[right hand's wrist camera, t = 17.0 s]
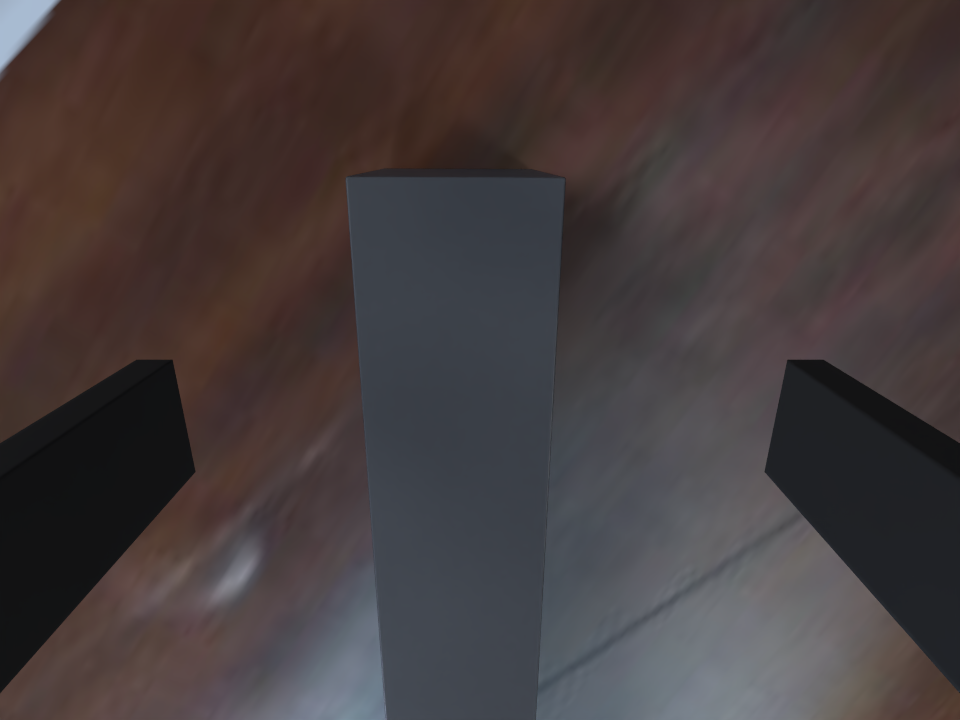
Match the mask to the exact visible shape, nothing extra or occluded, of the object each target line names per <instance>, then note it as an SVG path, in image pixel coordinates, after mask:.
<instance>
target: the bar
mask: <svg viewBox="0 0 960 720" xmlns="http://www.w3.org/2000/svg"><path fill="white" fill-rule="evenodd" d="M565 181H566V179H565V178H564V177H560V176H556V175H552V174H548V173H544V172H540V171H536V170H532V169H380V170H376V171H371V172H366V173H361V174H357V175H352V176H347V177H346V189H347V203H348V216H349V230H350V243H351V257H352V270H353V284H354V298H355V311H356V325H357V338H358V352H359V365H360V379H361V392H362V406H363V419H364V433H365V447H366V460H367V474H368V487H369V501H370V514H371V528H372V541H373V555H374V569H375V582H376V596H377V609H378V623H379V636H380V650H381V663H382V677H383V691H384V704H385V718H386V720H536V706H537V688H538V670H539V652H540V633H541V615H542V597H543V579H544V561H545V543H546V525H547V507H548V489H549V470H550V452H551V434H552V416H553V398H554V380H555V362H556V344H557V326H558V308H559V289H560V271H561V253H562V235H563V217H564V199H565Z"/></svg>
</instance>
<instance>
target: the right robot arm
mask: <svg viewBox="0 0 960 720" xmlns="http://www.w3.org/2000/svg"><path fill="white" fill-rule="evenodd" d="M194 473H195V467H194V462H193V458H192V453H191V448H190V443H189V438H188V433H187V428H186V423H185V419H184V414H183V409H182V404H181V399H180V394H179V389H178V384H177V379H176V375H175V370H174V365H173V360H136V361H134V362H132V363H131V364H129V365H127V366H126V367H124V368H122V369H121V370H119V371H118V372H116V373H114V374H113V375H111V376H109V377H108V378H106V379H105V380H103V381H101V382H100V383H98V384H96V385H95V386H93V387H91V388H90V389H88V390H87V391H85V392H83V393H82V394H80V395H78V396H77V397H75V398H74V399H72V400H70V401H69V402H67V403H65V404H64V405H62V406H60V407H59V408H57V409H56V410H54V411H52V412H51V413H49V414H47V415H46V416H44V417H43V418H41V419H39V420H38V421H36V422H34V423H33V424H31V425H29V426H28V427H26V428H25V429H23V430H21V431H20V432H18V433H16V434H15V435H13V436H12V437H10V438H8V439H7V440H5V441H3V442H2V443H0V693H1V692H2V690H3V689H4V688H5V687H6V686H7V685H8V684H9V683H10V681H11V680H12V679H13V678H14V677H15V676H16V675H17V673H18V672H19V671H20V670H21V669H22V668H23V667H24V666H25V664H26V663H27V662H28V661H29V660H30V659H31V658H32V656H33V655H34V654H35V653H36V652H37V651H38V650H39V649H40V647H41V646H42V645H43V644H44V643H45V642H46V641H47V639H48V638H49V637H50V636H51V635H52V634H53V633H54V632H55V630H56V629H57V628H58V627H59V626H60V625H61V624H62V622H63V621H64V620H65V619H66V618H67V617H68V616H69V615H70V613H71V612H72V611H73V610H74V609H75V608H76V607H77V605H78V604H79V603H80V602H81V601H82V600H83V599H84V598H85V596H86V595H87V594H88V593H89V592H90V591H91V590H92V588H93V587H94V586H95V585H96V584H97V583H98V582H99V581H100V579H101V578H102V577H103V576H104V575H105V574H106V573H107V571H108V570H109V569H110V568H111V567H112V566H113V565H114V564H115V562H116V561H117V560H118V559H119V558H120V557H121V556H122V554H123V553H124V552H125V551H126V550H127V549H128V548H129V547H130V545H131V544H132V543H133V542H134V541H135V540H136V539H137V537H138V536H139V535H140V534H141V533H142V532H143V531H144V530H145V528H146V527H147V526H148V525H149V524H150V523H151V522H152V520H153V519H154V518H155V517H156V516H157V515H158V514H159V513H160V511H161V510H162V509H163V508H164V507H165V506H166V505H167V503H168V502H169V501H170V500H171V499H172V498H173V497H174V496H175V494H176V493H177V492H178V491H179V490H180V489H181V488H182V486H183V485H184V484H185V483H186V482H187V481H188V480H189V479H190V477H191V476H192V475H193V474H194ZM765 473H766V474H767V475H768V476H769V477H770V479H771V480H772V481H773V482H774V483H775V484H776V485H777V486H778V488H779V489H780V490H781V491H782V492H783V493H784V494H785V496H786V497H787V498H788V499H789V500H790V501H791V502H792V503H793V505H794V506H795V507H796V508H797V509H798V510H799V511H800V513H801V514H802V515H803V516H804V517H805V518H806V519H807V520H808V522H809V523H810V524H811V525H812V526H813V527H814V528H815V530H816V531H817V532H818V533H819V534H820V535H821V536H822V537H823V539H824V540H825V541H826V542H827V543H828V544H829V545H830V547H831V548H832V549H833V550H834V551H835V552H836V553H837V554H838V556H839V557H840V558H841V559H842V560H843V561H844V562H845V564H846V565H847V566H848V567H849V568H850V569H851V570H852V571H853V573H854V574H855V575H856V576H857V577H858V578H859V579H860V581H861V582H862V583H863V584H864V585H865V586H866V587H867V588H868V590H869V591H870V592H871V593H872V594H873V595H874V596H875V598H876V599H877V600H878V601H879V602H880V603H881V604H882V605H883V607H884V608H885V609H886V610H887V611H888V612H889V613H890V615H891V616H892V617H893V618H894V619H895V620H896V621H897V622H898V624H899V625H900V626H901V627H902V628H903V629H904V630H905V632H906V633H907V634H908V635H909V636H910V637H911V638H912V639H913V641H914V642H915V643H916V644H917V645H918V646H919V647H920V649H921V650H922V651H923V652H924V653H925V654H926V655H927V656H928V658H929V659H930V660H931V661H932V662H933V663H934V664H935V666H936V667H937V668H938V669H939V670H940V671H941V672H942V673H943V675H944V676H945V677H946V678H947V679H948V680H949V681H950V683H951V684H952V685H953V686H954V687H955V688H956V689H957V690H958V692H959V693H960V443H958V442H957V441H955V440H953V439H952V438H950V437H948V436H947V435H945V434H944V433H942V432H940V431H939V430H937V429H935V428H934V427H932V426H931V425H929V424H927V423H926V422H924V421H922V420H921V419H919V418H917V417H916V416H914V415H913V414H911V413H909V412H908V411H906V410H904V409H903V408H901V407H900V406H898V405H896V404H895V403H893V402H891V401H890V400H888V399H886V398H885V397H883V396H882V395H880V394H878V393H877V392H875V391H873V390H872V389H870V388H869V387H867V386H865V385H864V384H862V383H860V382H859V381H857V380H855V379H854V378H852V377H851V376H849V375H847V374H846V373H844V372H842V371H841V370H839V369H838V368H836V367H834V366H833V365H831V364H829V363H828V362H826V361H825V360H787V365H786V370H785V375H784V379H783V384H782V389H781V394H780V399H779V404H778V409H777V414H776V419H775V423H774V428H773V433H772V438H771V443H770V448H769V453H768V458H767V462H766V467H765Z"/></svg>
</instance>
